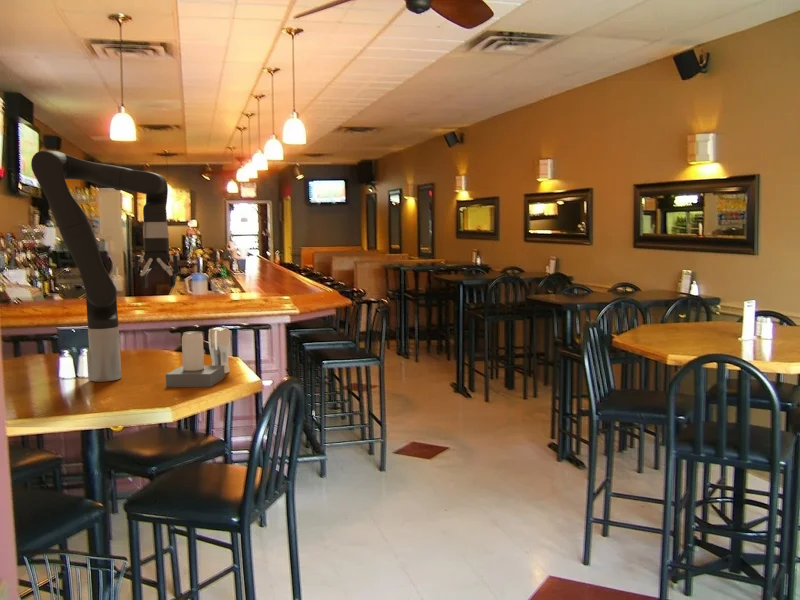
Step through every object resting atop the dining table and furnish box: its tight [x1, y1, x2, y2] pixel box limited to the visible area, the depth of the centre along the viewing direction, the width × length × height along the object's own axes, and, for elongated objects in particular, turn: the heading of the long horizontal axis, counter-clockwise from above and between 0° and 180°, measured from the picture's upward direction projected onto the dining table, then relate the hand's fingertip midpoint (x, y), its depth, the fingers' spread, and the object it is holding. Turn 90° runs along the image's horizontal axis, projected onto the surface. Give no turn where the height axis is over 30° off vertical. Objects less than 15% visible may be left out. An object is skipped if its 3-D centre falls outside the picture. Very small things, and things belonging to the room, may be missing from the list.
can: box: [181, 330, 205, 372], centre depth 224 cm, size 6×6×12 cm
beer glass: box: [208, 327, 231, 375], centre depth 239 cm, size 7×7×15 cm
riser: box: [165, 365, 226, 388], centre depth 225 cm, size 14×14×4 cm
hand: (158, 287), depth 226 cm, fingers open, 8 cm apart
